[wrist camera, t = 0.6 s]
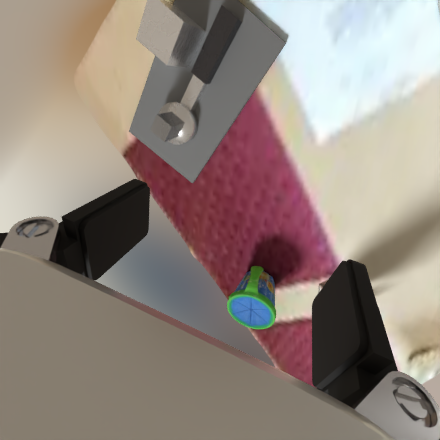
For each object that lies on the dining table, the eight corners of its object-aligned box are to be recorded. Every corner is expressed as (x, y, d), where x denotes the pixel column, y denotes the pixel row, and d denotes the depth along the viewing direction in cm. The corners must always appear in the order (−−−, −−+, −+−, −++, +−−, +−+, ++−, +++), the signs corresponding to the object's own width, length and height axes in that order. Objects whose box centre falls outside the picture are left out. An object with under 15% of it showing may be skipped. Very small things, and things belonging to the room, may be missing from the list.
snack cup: (242, 249, 53) (229, 280, 45) (288, 262, 50) (282, 296, 42) (236, 293, 61) (224, 325, 53) (275, 306, 59) (268, 342, 51)
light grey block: (177, 7, 33) (149, -9, 28) (205, 31, 34) (183, 21, 28) (163, 45, 36) (136, 39, 31) (189, 67, 37) (166, 65, 31)
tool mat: (192, -41, 31) (189, -43, 30) (285, 43, 32) (285, 42, 31) (131, 130, 47) (129, 131, 47) (194, 182, 48) (192, 183, 48)
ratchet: (215, -2, 31) (193, -20, 26) (253, 32, 32) (240, 21, 26) (159, 126, 44) (136, 132, 38) (187, 149, 44) (169, 158, 39)
